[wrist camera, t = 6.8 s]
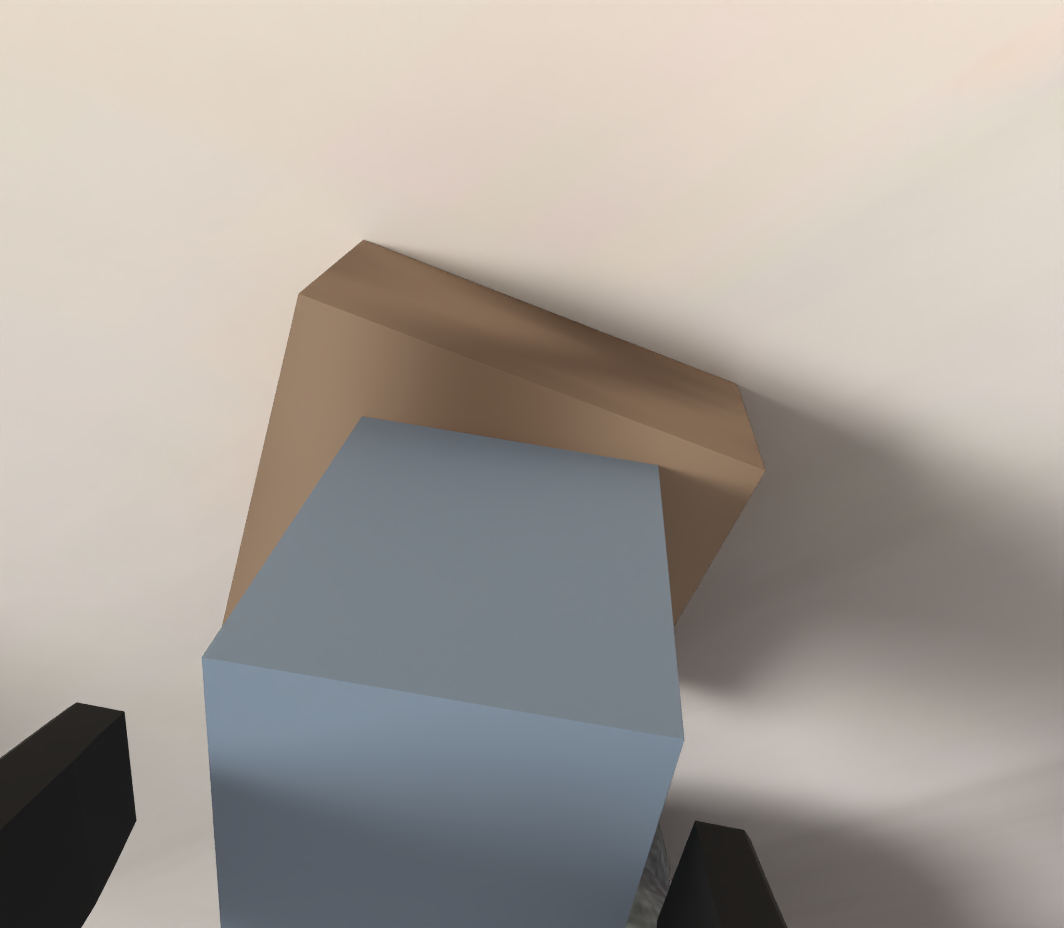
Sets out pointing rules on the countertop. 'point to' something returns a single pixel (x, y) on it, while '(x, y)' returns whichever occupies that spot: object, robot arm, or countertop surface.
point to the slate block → (448, 692)
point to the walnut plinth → (493, 399)
